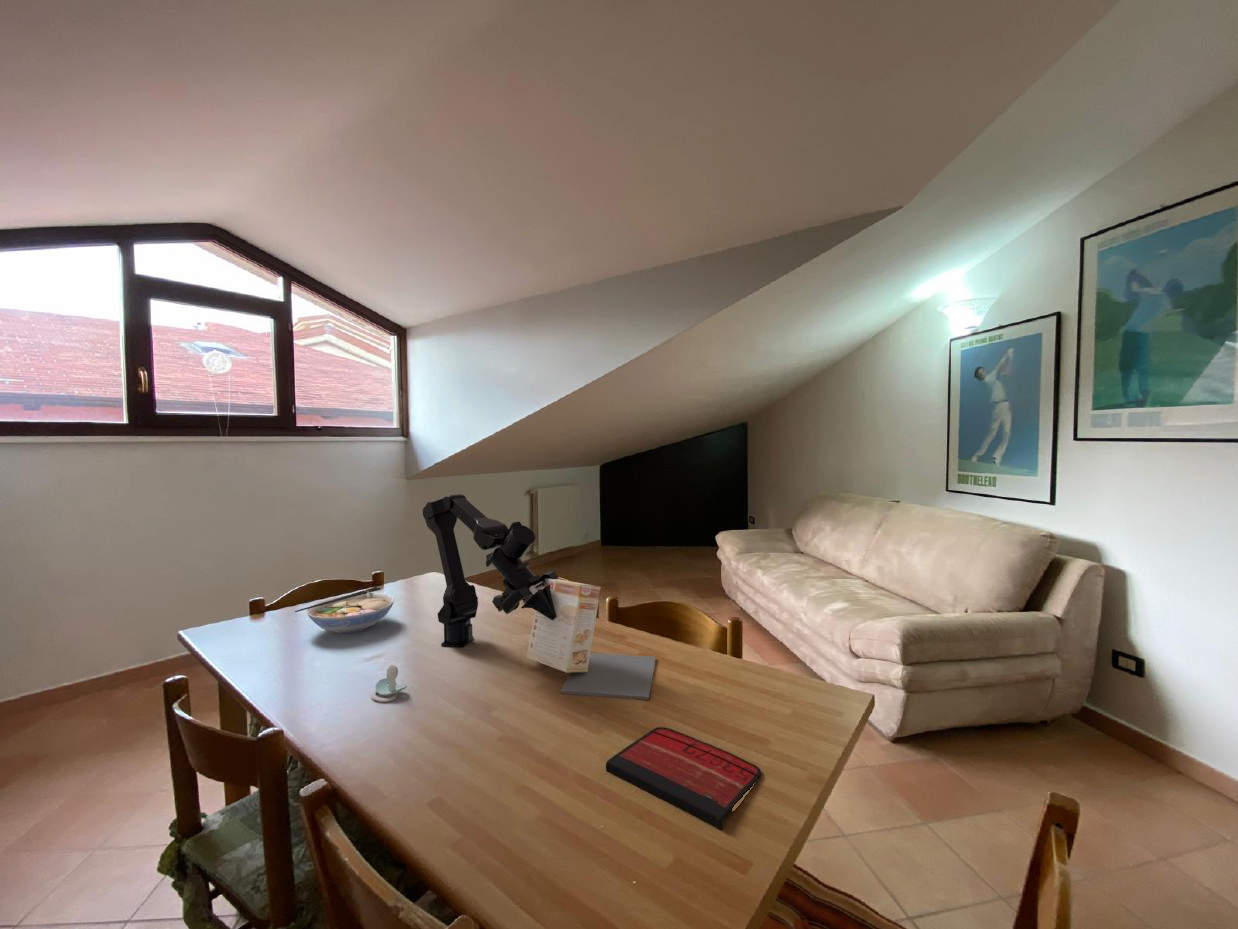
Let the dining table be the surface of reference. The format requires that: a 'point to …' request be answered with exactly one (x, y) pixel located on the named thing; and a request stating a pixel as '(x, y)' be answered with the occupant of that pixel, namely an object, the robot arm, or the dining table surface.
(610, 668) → the mat
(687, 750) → the binder
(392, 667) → the pacifier
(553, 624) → the coffeecake box
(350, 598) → the ramen bowl
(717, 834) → the dining table surface
